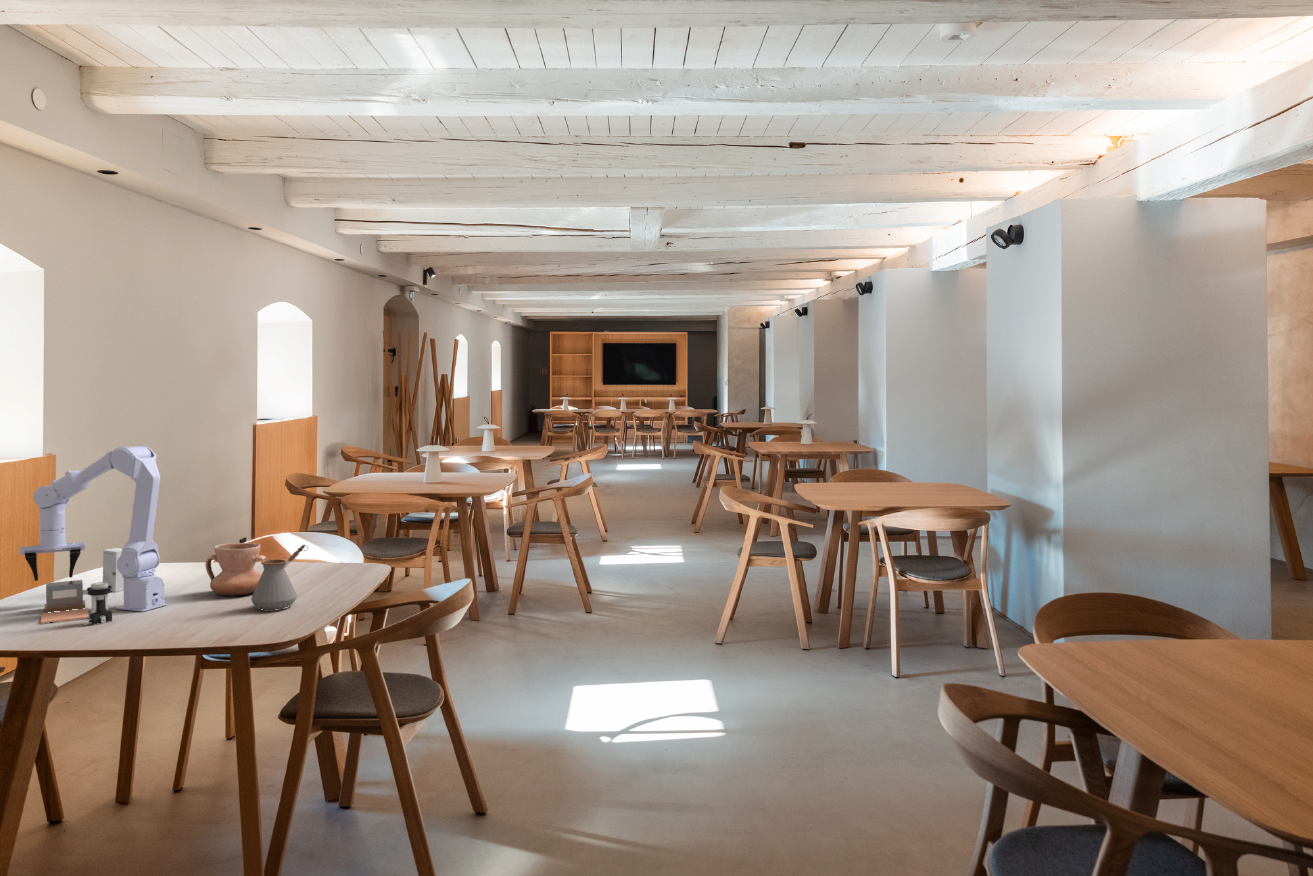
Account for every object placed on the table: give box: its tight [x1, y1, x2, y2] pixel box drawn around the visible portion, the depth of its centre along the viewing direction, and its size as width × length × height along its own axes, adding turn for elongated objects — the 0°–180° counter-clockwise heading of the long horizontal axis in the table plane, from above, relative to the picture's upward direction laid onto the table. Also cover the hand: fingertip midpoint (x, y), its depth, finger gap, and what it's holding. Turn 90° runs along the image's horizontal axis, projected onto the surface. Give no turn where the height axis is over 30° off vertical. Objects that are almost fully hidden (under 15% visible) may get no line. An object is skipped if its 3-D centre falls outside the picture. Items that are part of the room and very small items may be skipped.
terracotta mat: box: [40, 607, 89, 625], centre depth 218 cm, size 10×10×1 cm
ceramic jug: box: [204, 542, 267, 597], centre depth 247 cm, size 18×14×14 cm
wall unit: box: [43, 579, 86, 613], centre depth 226 cm, size 6×9×7 cm, turn 125°
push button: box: [82, 581, 113, 625], centre depth 213 cm, size 7×5×10 cm
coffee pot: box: [250, 544, 309, 610], centre depth 235 cm, size 21×12×15 cm, turn 172°
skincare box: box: [102, 547, 124, 593], centre depth 249 cm, size 6×4×12 cm
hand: (53, 578), depth 230 cm, fingers open, 7 cm apart
